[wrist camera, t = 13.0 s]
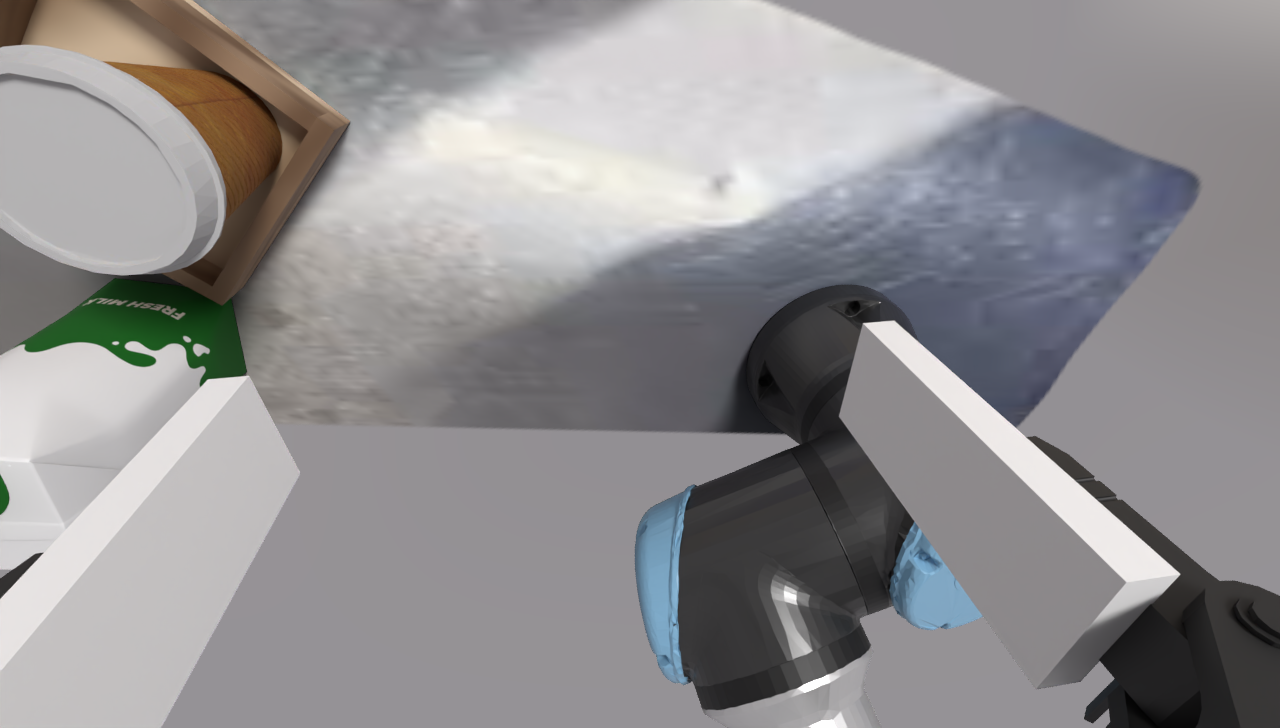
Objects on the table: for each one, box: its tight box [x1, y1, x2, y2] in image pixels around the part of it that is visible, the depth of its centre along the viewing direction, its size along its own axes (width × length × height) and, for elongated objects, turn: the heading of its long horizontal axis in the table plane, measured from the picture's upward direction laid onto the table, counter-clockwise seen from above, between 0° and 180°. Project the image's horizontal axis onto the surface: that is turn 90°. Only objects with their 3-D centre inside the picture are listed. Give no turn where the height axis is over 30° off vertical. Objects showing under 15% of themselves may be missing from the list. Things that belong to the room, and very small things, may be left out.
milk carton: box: [0, 278, 247, 569], centre depth 31 cm, size 9×9×20 cm
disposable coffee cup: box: [0, 45, 282, 275], centre depth 27 cm, size 10×10×12 cm
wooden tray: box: [0, 0, 350, 305], centre depth 31 cm, size 15×15×3 cm
